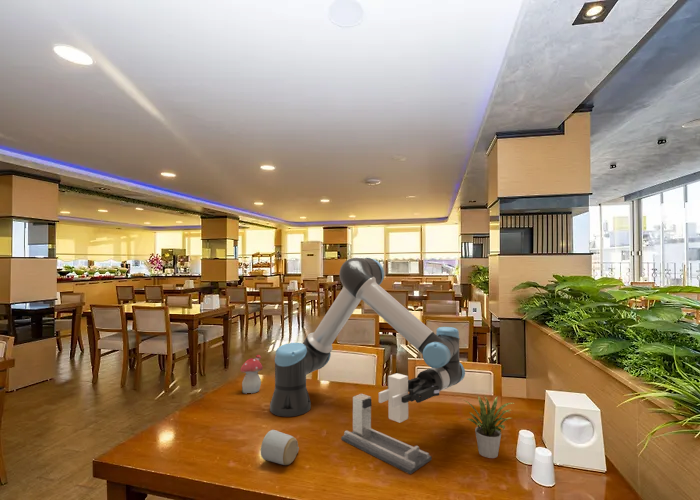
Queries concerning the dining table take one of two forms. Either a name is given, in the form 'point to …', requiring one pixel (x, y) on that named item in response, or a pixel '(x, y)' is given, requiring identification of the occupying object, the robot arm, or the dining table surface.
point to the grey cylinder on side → (279, 447)
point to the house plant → (488, 428)
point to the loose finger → (395, 387)
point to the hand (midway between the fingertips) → (386, 400)
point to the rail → (381, 440)
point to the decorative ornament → (251, 375)
